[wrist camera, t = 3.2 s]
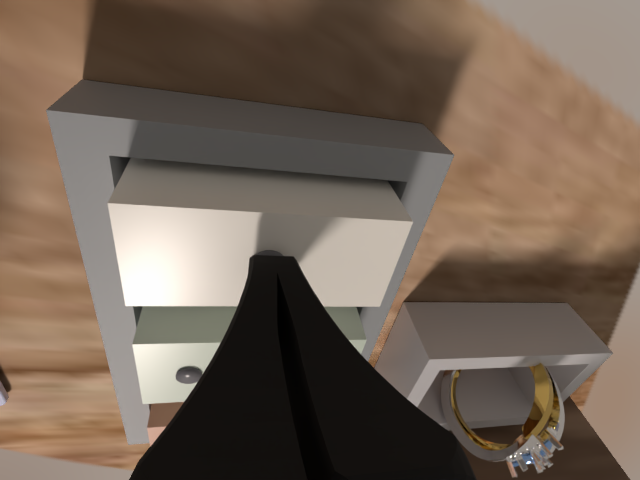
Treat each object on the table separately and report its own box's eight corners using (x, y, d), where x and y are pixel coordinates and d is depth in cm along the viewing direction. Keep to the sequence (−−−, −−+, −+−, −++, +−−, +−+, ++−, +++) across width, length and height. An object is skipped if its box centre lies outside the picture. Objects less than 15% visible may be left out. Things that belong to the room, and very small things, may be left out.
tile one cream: (360, 256, 17) (380, 308, 15) (143, 249, 15) (124, 308, 12) (385, 177, 15) (414, 223, 12) (132, 154, 12) (106, 205, 10)
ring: (499, 307, 24) (589, 433, 18) (520, 325, 26) (609, 447, 19) (413, 363, 26) (466, 492, 20) (438, 377, 28) (494, 499, 22)
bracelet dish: (511, 372, 30) (542, 422, 27) (369, 379, 27) (385, 435, 24) (567, 303, 25) (613, 353, 22) (403, 302, 22) (429, 359, 19)
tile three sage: (333, 341, 20) (346, 394, 18) (155, 345, 18) (142, 406, 16) (350, 288, 18) (367, 341, 16) (147, 285, 16) (131, 346, 14)
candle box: (483, 454, 40) (528, 548, 34) (358, 467, 37) (382, 574, 30) (555, 377, 32) (632, 482, 26) (403, 385, 28) (448, 509, 22)
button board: (331, 386, 27) (340, 428, 24) (139, 395, 24) (128, 444, 22) (422, 123, 16) (454, 154, 13) (81, 79, 13) (46, 109, 10)
